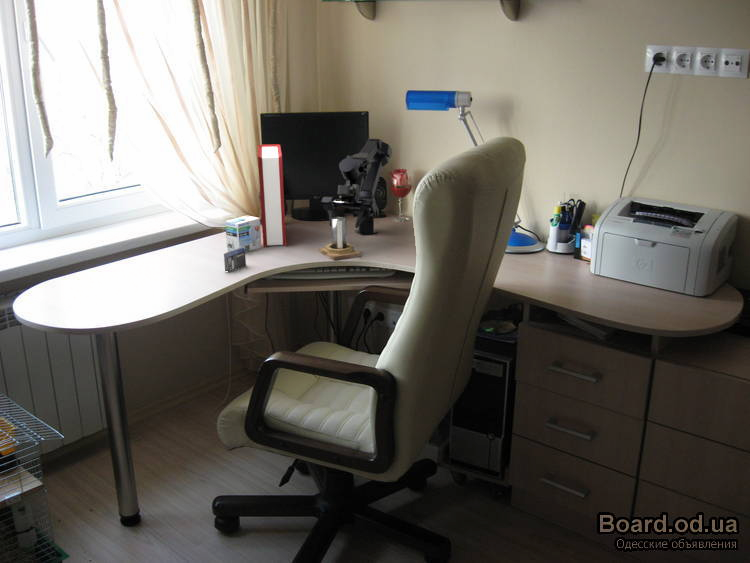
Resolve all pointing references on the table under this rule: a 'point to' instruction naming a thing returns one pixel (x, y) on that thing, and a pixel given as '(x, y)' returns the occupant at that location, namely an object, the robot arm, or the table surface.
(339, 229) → the shaft
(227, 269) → the mini dv tape
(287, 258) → the table surface
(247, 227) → the light bulb box
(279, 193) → the book
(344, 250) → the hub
